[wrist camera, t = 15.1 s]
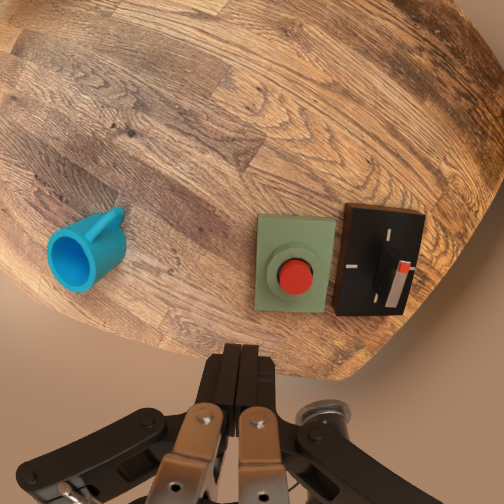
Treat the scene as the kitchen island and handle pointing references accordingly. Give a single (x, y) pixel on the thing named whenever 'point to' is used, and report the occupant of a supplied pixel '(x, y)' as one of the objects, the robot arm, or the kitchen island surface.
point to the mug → (87, 250)
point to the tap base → (373, 256)
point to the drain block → (289, 248)
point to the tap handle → (390, 276)
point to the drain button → (295, 277)
